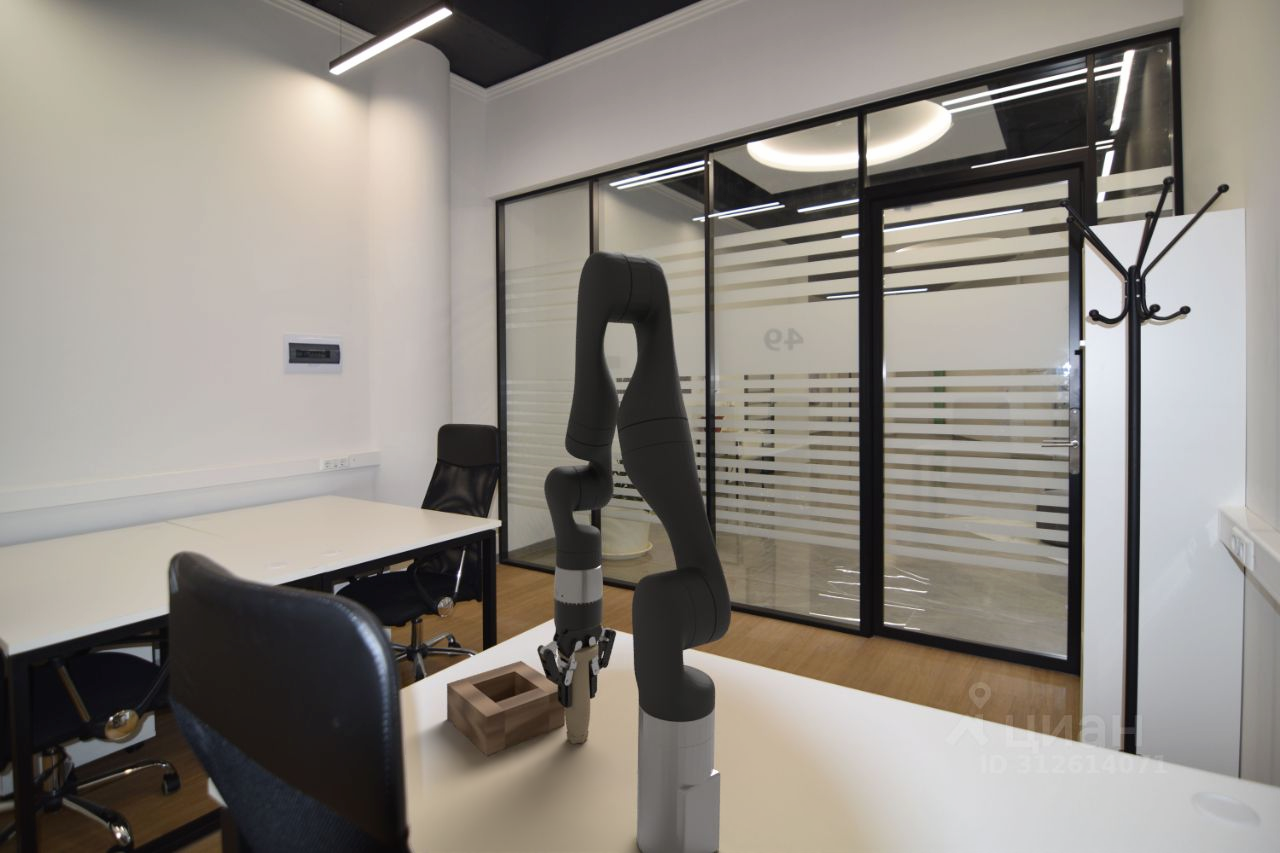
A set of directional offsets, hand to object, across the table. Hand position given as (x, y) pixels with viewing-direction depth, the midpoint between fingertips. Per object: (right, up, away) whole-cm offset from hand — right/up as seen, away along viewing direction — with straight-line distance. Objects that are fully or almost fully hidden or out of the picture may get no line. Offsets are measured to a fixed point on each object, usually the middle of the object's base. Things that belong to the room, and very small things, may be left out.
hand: (577, 700), depth 98 cm
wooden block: (-12, -6, +5) cm, 15 cm away
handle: (0, -6, 0) cm, 6 cm away
